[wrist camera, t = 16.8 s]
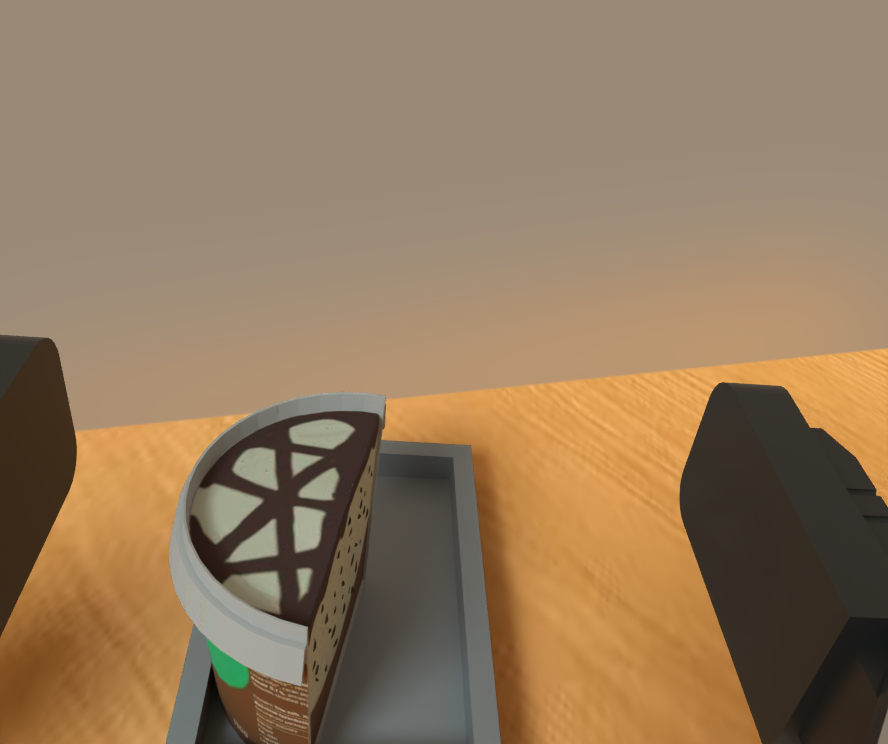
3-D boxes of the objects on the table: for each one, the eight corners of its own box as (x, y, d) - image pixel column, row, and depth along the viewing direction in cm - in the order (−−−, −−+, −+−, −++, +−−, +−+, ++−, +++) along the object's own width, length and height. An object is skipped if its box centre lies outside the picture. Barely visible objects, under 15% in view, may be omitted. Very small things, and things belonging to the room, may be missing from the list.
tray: (465, 478, 46) (470, 445, 44) (494, 816, 31) (505, 784, 30) (240, 466, 44) (239, 431, 43) (163, 812, 30) (157, 778, 29)
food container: (245, 530, 40) (239, 360, 34) (372, 555, 40) (388, 387, 34) (130, 781, 30) (92, 603, 24) (298, 816, 30) (302, 644, 24)
